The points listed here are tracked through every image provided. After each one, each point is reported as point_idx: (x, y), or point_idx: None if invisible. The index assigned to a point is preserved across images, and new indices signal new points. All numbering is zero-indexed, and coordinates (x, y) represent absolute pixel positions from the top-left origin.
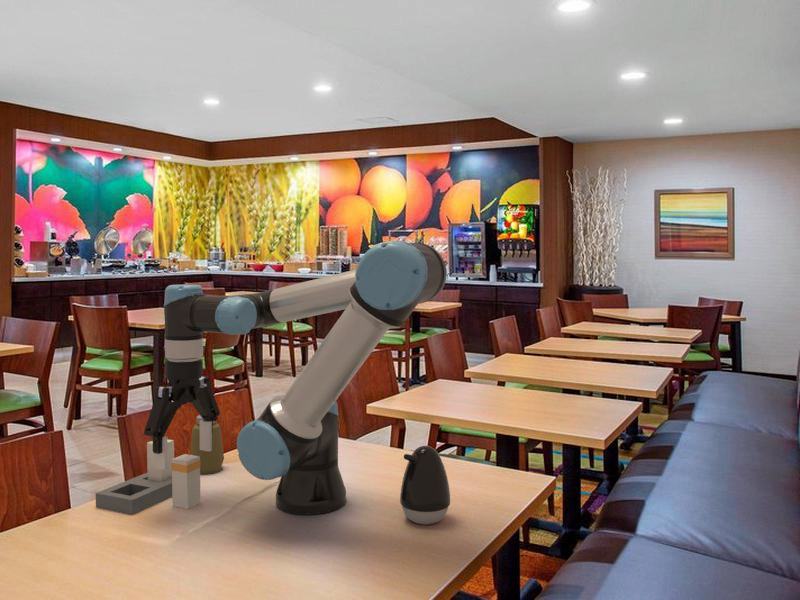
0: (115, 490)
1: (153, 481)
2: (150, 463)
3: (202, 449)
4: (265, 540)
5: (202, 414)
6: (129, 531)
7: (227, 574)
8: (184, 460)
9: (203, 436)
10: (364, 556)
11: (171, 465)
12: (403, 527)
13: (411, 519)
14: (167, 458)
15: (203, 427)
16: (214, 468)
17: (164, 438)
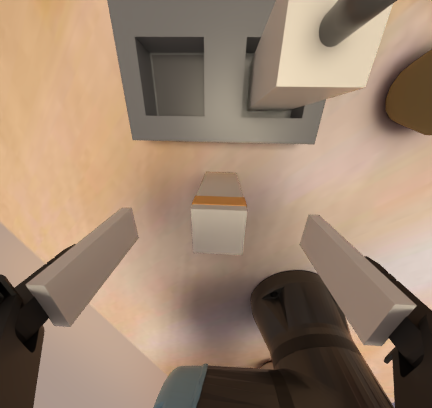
0: (153, 37)
1: (239, 90)
2: (263, 44)
3: (307, 224)
4: (184, 300)
5: (421, 378)
6: (119, 168)
7: (119, 303)
8: (197, 243)
9: (329, 258)
10: (195, 353)
11: (193, 200)
12: (253, 360)
13: (261, 368)
14: (124, 255)
15: (355, 289)
16: (407, 126)
17: (56, 321)
